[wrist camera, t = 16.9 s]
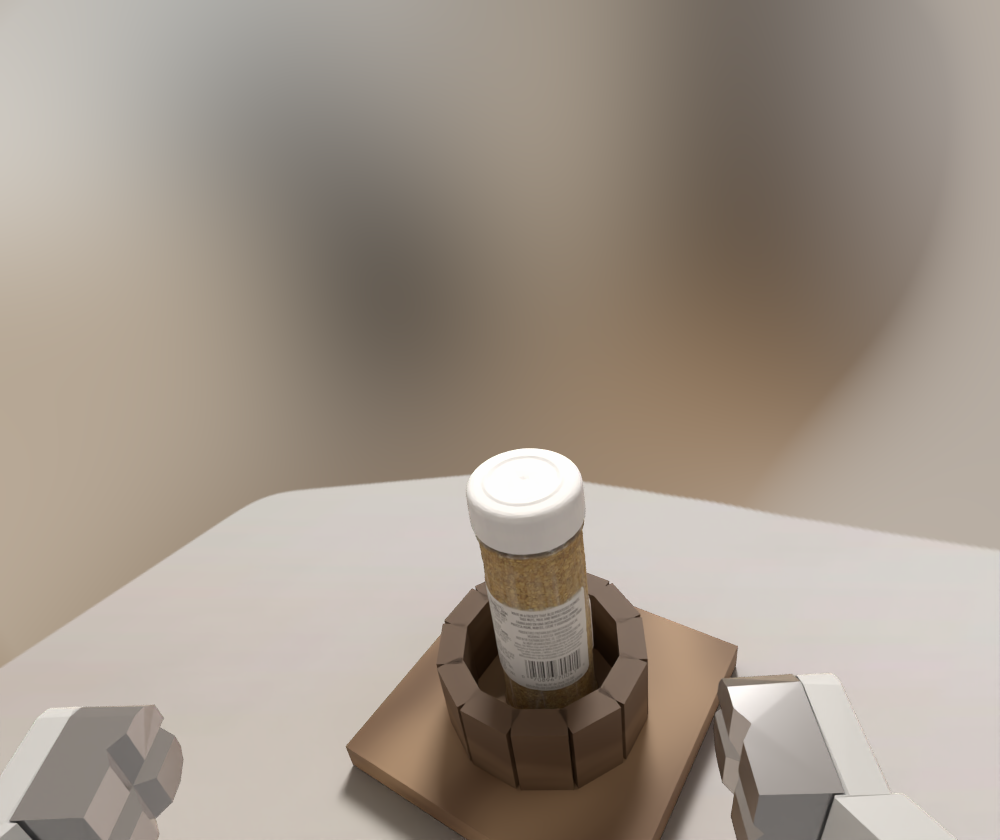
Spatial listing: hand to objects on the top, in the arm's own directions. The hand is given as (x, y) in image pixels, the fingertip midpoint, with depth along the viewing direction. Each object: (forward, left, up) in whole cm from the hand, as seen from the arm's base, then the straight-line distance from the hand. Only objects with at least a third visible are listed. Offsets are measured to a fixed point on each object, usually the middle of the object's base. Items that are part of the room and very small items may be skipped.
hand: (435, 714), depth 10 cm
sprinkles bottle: (-8, +13, -21) cm, 26 cm away
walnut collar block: (-8, +13, -22) cm, 27 cm away
